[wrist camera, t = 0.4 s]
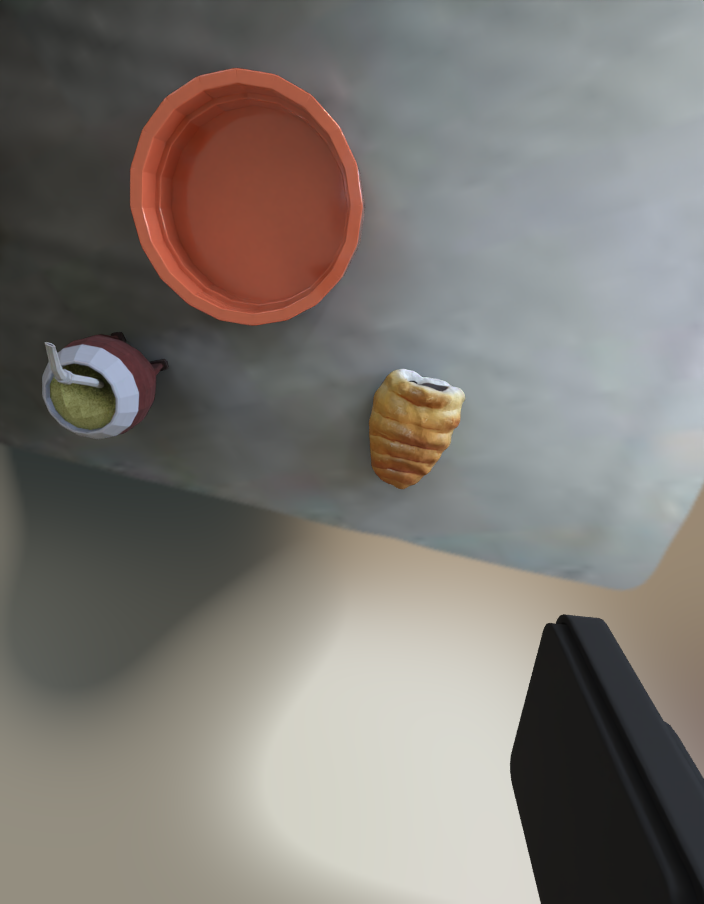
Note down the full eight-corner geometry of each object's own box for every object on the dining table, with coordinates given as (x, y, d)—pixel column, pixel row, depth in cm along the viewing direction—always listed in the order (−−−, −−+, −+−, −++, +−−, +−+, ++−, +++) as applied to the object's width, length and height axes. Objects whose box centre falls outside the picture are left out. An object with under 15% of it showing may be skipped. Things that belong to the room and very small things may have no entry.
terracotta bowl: (119, 160, 39) (83, 151, 34) (300, 42, 36) (288, 14, 31) (228, 347, 43) (210, 361, 39) (398, 256, 40) (400, 259, 36)
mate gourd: (106, 420, 46) (-13, 501, 32) (69, 325, 43) (-78, 369, 29) (191, 403, 45) (106, 479, 31) (159, 305, 43) (51, 341, 29)
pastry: (430, 488, 47) (434, 509, 43) (353, 468, 47) (350, 487, 43) (467, 383, 44) (474, 396, 40) (383, 360, 43) (383, 371, 40)
